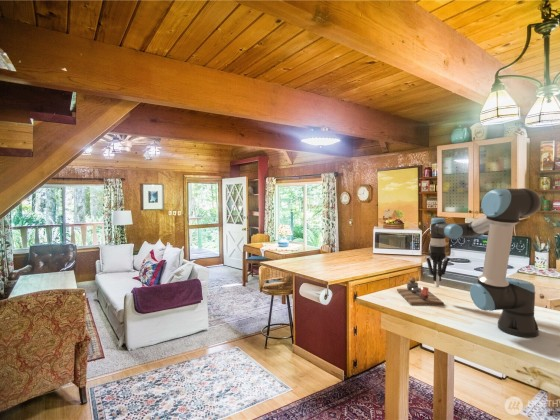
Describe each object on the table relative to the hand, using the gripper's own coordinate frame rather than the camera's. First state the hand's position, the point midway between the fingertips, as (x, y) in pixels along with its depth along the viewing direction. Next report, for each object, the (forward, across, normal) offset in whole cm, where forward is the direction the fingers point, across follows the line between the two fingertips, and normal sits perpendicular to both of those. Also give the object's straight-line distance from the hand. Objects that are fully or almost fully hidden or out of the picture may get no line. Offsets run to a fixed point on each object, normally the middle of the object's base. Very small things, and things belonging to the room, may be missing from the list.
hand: (436, 286), depth 187 cm
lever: (+7, +7, -7) cm, 13 cm away
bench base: (+9, +7, -8) cm, 14 cm away
